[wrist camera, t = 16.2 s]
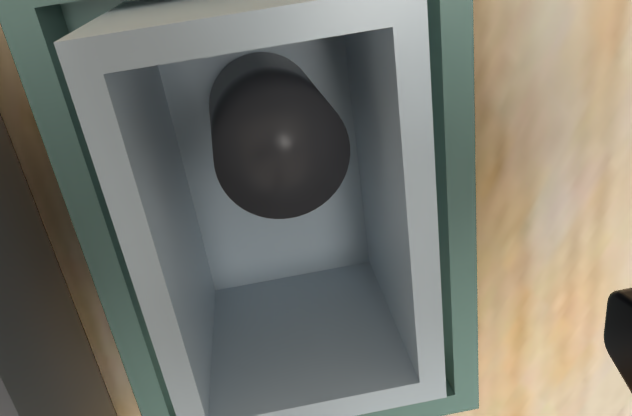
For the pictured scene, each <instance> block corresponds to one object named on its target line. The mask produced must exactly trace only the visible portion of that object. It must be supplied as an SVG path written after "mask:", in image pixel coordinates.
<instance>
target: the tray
mask: <svg viewBox="0 0 632 416" xmlns="http://www.w3.org/2000/svg"><path fill="white" fill-rule="evenodd" d="M134 1H140V0H0V24H1V27H2V29H3V32H4V35H5V38H6V40H7V43H8V46H9V49H10V52H11V54H12V57H13V60H14V63H15V65H16V68H17V71H18V74H19V77H20V79H21V82H22V85H23V88H24V90H25V93H26V96H27V99H28V102H29V104H30V107H31V110H32V113H33V115H34V118H35V121H36V124H37V126H38V129H39V132H40V135H41V138H42V140H43V143H44V146H45V149H46V151H47V154H48V157H49V160H50V163H51V165H52V168H53V171H54V174H55V176H56V179H57V182H58V185H59V188H60V190H61V193H62V196H63V199H64V201H65V204H66V207H67V210H68V213H69V215H70V218H71V221H72V224H73V226H74V229H75V232H76V235H77V237H78V240H79V243H80V246H81V249H82V251H83V254H84V257H85V260H86V262H87V265H88V268H89V271H90V274H91V276H92V279H93V282H94V285H95V287H96V290H97V293H98V296H99V299H100V301H101V304H102V307H103V310H104V312H105V315H106V318H107V321H108V324H109V326H110V329H111V332H112V335H113V337H114V340H115V343H116V346H117V348H118V351H119V354H120V357H121V360H122V362H123V365H124V368H125V371H126V373H127V376H128V379H129V382H130V385H131V387H132V390H133V393H134V396H135V398H136V401H137V404H138V407H139V410H140V412H141V415H142V416H176V414H175V411H174V408H173V405H172V402H171V399H170V396H169V393H168V390H167V386H166V383H165V380H164V377H163V374H162V371H161V368H160V365H159V362H158V359H157V356H156V353H155V350H154V347H153V344H152V341H151V338H150V335H149V332H148V329H147V326H146V323H145V320H144V316H143V313H142V310H141V307H140V304H139V301H138V298H137V295H136V292H135V289H134V286H133V283H132V280H131V277H130V274H129V271H128V268H127V265H126V262H125V259H124V256H123V253H122V250H121V246H120V243H119V240H118V237H117V234H116V231H115V228H114V225H113V222H112V219H111V216H110V213H109V210H108V207H107V204H106V201H105V198H104V195H103V192H102V189H101V186H100V183H99V180H98V176H97V173H96V170H95V167H94V164H93V161H92V158H91V155H90V152H89V149H88V146H87V143H86V140H85V137H84V134H83V131H82V128H81V125H80V122H79V119H78V116H77V113H76V110H75V106H74V103H73V100H72V97H71V94H70V91H69V88H68V85H67V82H66V79H65V76H64V73H63V70H62V67H61V64H60V61H59V58H58V55H57V52H56V49H55V46H54V43H53V42H55V41H57V40H59V39H60V38H62V37H64V36H66V35H67V34H69V33H71V32H73V31H74V30H76V29H78V28H79V27H81V26H83V25H85V24H86V23H88V22H90V21H92V20H93V19H95V18H97V17H99V16H100V15H102V14H104V13H106V12H107V11H109V10H111V9H113V8H114V7H116V6H118V5H120V4H121V3H127V2H134ZM427 12H428V32H429V52H430V72H431V92H432V112H433V133H434V153H435V173H436V193H437V213H438V233H439V254H440V274H441V294H442V314H443V334H444V354H445V374H446V395H447V397H446V398H441V399H436V400H431V401H426V402H421V403H416V404H411V405H406V406H401V407H397V408H392V409H387V410H382V411H377V412H372V413H367V414H362V415H357V416H443V415H448V414H453V413H458V412H463V411H468V410H473V409H478V408H479V390H478V320H477V249H476V179H475V108H474V38H473V0H427Z"/></svg>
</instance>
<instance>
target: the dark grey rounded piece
mask: <svg viewBox="0 0 632 416" xmlns="http://www.w3.org/2000/svg"><path fill="white" fill-rule="evenodd" d="M209 114H210V125H211V137H212V149H213V161H214V169H215V172H216V176H217V179H218V181H219V183H220V185H221V187H222V189H223V190H224V192H225V193H226V194H227V196H228V197H229V198H230V199H231V200H232V201H233V202H234V203H235V204H236V205H238V206H239V207H241V208H242V209H244V210H246V211H247V212H249V213H252V214H254V215H257V216H260V217H264V218H270V219H288V218H294V217H298V216H301V215H304V214H307V213H309V212H311V211H313V210H315V209H317V208H318V207H320V206H321V205H323V204H324V203H325V202H326V201H327V200H329V199H330V198H331V197H332V196H333V194H334V193H335V192H336V191H337V189H338V188H339V187H340V185H341V183H342V181H343V180H344V178H345V175H346V173H347V170H348V166H349V161H350V141H349V136H348V133H347V129H346V127H345V125H344V123H343V121H342V119H341V118H340V116H339V115H338V113H337V112H336V111H335V110H334V109H333V107H332V106H331V105H330V104H329V102H328V101H327V100H326V99H325V97H324V96H323V95H322V94H321V93H320V91H319V90H318V89H317V88H316V86H315V85H314V84H313V83H312V82H311V80H310V79H309V78H308V77H307V75H306V74H305V73H304V72H303V71H302V69H301V68H300V67H299V66H298V65H296V64H295V63H294V62H292V61H291V60H290V59H288V58H286V57H284V56H281V55H278V54H275V53H269V52H255V53H250V54H246V55H244V56H241V57H239V58H237V59H235V60H233V61H232V62H231V63H229V64H228V65H227V66H226V67H225V68H224V69H223V70H222V71H221V72H220V73H219V75H218V76H217V78H216V79H215V81H214V84H213V86H212V89H211V92H210V98H209Z"/></svg>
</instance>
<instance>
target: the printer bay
mask: <svg viewBox="0 0 632 416" xmlns="http://www.w3.org/2000/svg"><path fill="white" fill-rule="evenodd" d="M0 416H117V415H116V412H115V410H114V407H113V405H112V402H111V399H110V397H109V394H108V392H107V389H106V386H105V384H104V381H103V379H102V376H101V374H100V371H99V368H98V366H97V363H96V361H95V358H94V355H93V353H92V350H91V348H90V345H89V342H88V340H87V337H86V335H85V332H84V329H83V327H82V324H81V322H80V319H79V317H78V314H77V311H76V309H75V306H74V304H73V301H72V298H71V296H70V293H69V291H68V288H67V285H66V283H65V280H64V278H63V275H62V273H61V270H60V267H59V265H58V262H57V260H56V257H55V254H54V252H53V249H52V247H51V244H50V241H49V239H48V236H47V234H46V231H45V228H44V226H43V223H42V221H41V218H40V216H39V213H38V210H37V208H36V205H35V203H34V200H33V197H32V195H31V192H30V190H29V187H28V184H27V182H26V179H25V177H24V174H23V171H22V169H21V166H20V164H19V161H18V159H17V156H16V153H15V151H14V148H13V146H12V143H11V140H10V138H9V135H8V133H7V130H6V127H5V125H4V122H3V120H2V117H1V114H0Z"/></svg>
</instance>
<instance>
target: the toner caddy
mask: <svg viewBox="0 0 632 416" xmlns="http://www.w3.org/2000/svg"><path fill="white" fill-rule="evenodd" d="M53 43H54V46H55V49H56V52H57V55H58V58H59V61H60V64H61V67H62V70H63V73H64V76H65V79H66V82H67V85H68V88H69V91H70V94H71V97H72V100H73V103H74V106H75V110H76V113H77V116H78V119H79V122H80V125H81V128H82V131H83V134H84V137H85V140H86V143H87V146H88V149H89V152H90V155H91V158H92V161H93V164H94V167H95V170H96V173H97V176H98V180H99V183H100V186H101V189H102V192H103V195H104V198H105V201H106V204H107V207H108V210H109V213H110V216H111V219H112V222H113V225H114V228H115V231H116V234H117V237H118V240H119V243H120V246H121V250H122V253H123V256H124V259H125V262H126V265H127V268H128V271H129V274H130V277H131V280H132V283H133V286H134V289H135V292H136V295H137V298H138V301H139V304H140V307H141V310H142V313H143V316H144V320H145V323H146V326H147V329H148V332H149V335H150V338H151V341H152V344H153V347H154V350H155V353H156V356H157V359H158V362H159V365H160V368H161V371H162V374H163V377H164V380H165V383H166V386H167V390H168V393H169V396H170V399H171V402H172V405H173V408H174V411H175V414H176V416H357V415H362V414H367V413H372V412H377V411H382V410H387V409H392V408H397V407H401V406H406V405H411V404H416V403H421V402H426V401H431V400H436V399H441V398H446V397H447V395H446V374H445V354H444V334H443V314H442V294H441V274H440V254H439V233H438V213H437V193H436V173H435V153H434V133H433V112H432V92H431V72H430V52H429V32H428V12H427V0H140V1H134V2H127V3H121V4H120V5H118V6H116V7H114V8H113V9H111V10H109V11H107V12H106V13H104V14H102V15H100V16H99V17H97V18H95V19H93V20H92V21H90V22H88V23H86V24H85V25H83V26H81V27H79V28H78V29H76V30H74V31H73V32H71V33H69V34H67V35H66V36H64V37H62V38H60V39H59V40H57V41H55V42H53ZM255 52H269V53H275V54H278V55H281V56H284V57H286V58H288V59H290V60H291V61H292V62H294V63H295V64H296V65H298V66H299V67H300V68H301V69H302V71H303V72H304V73H305V74H306V75H307V77H308V78H309V79H310V80H311V82H312V83H313V84H314V85H315V86H316V88H317V89H318V90H319V91H320V93H321V94H322V95H323V96H324V97H325V99H326V100H327V101H328V102H329V104H330V105H331V106H332V107H333V109H334V110H335V111H336V112H337V113H338V115H339V116H340V118H341V119H342V121H343V123H344V125H345V127H346V129H347V133H348V136H349V141H350V161H349V166H348V170H347V173H346V175H345V178H344V180H343V181H342V183H341V185H340V187H339V188H338V189H337V191H336V192H335V193H334V194H333V196H332V197H331V198H330V199H329V200H327V201H326V202H325V203H324V204H323V205H321V206H320V207H318V208H317V209H315V210H313V211H311V212H309V213H307V214H304V215H301V216H298V217H294V218H288V219H270V218H264V217H260V216H257V215H254V214H252V213H249V212H247V211H246V210H244V209H242V208H241V207H239V206H238V205H236V204H235V203H234V202H233V201H232V200H231V199H230V198H229V197H228V196H227V194H226V193H225V192H224V190H223V189H222V187H221V185H220V183H219V181H218V179H217V176H216V172H215V169H214V161H213V149H212V137H211V125H210V114H209V98H210V92H211V89H212V86H213V84H214V81H215V79H216V78H217V76H218V75H219V73H220V72H221V71H222V70H223V69H224V68H225V67H226V66H227V65H228V64H229V63H231V62H232V61H233V60H235V59H237V58H239V57H241V56H244V55H246V54H250V53H255Z"/></svg>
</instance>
